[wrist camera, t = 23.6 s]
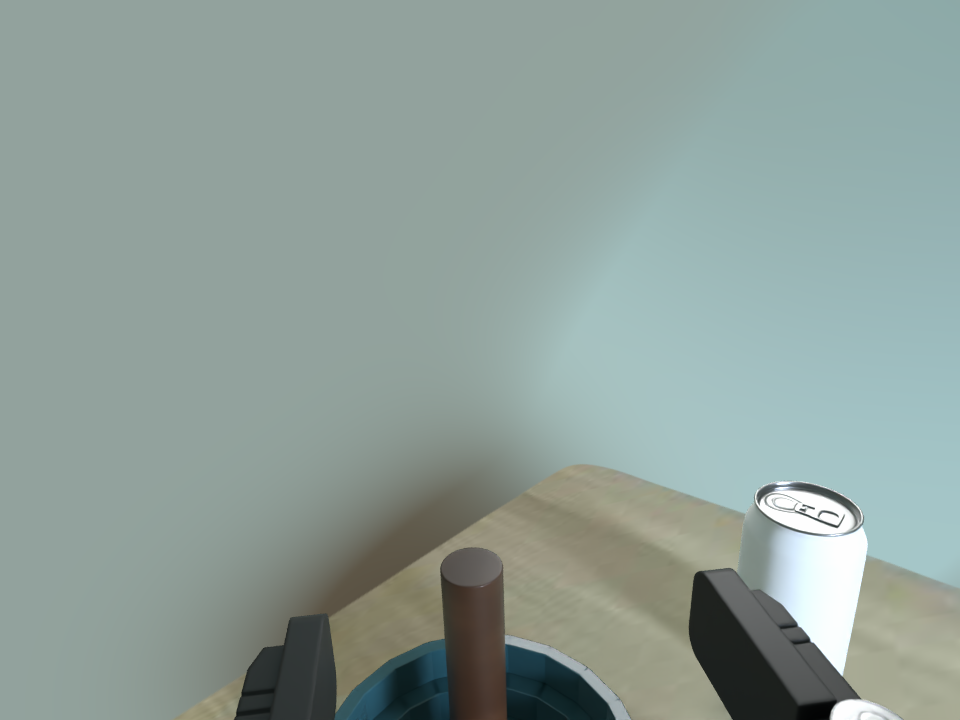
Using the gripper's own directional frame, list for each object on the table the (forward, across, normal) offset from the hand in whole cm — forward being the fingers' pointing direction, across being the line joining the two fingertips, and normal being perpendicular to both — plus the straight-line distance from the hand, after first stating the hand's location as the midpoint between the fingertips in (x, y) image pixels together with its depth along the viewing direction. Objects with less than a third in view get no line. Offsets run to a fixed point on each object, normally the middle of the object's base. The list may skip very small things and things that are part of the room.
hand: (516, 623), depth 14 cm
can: (+18, -20, +23) cm, 35 cm away
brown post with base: (+11, 0, +22) cm, 24 cm away
